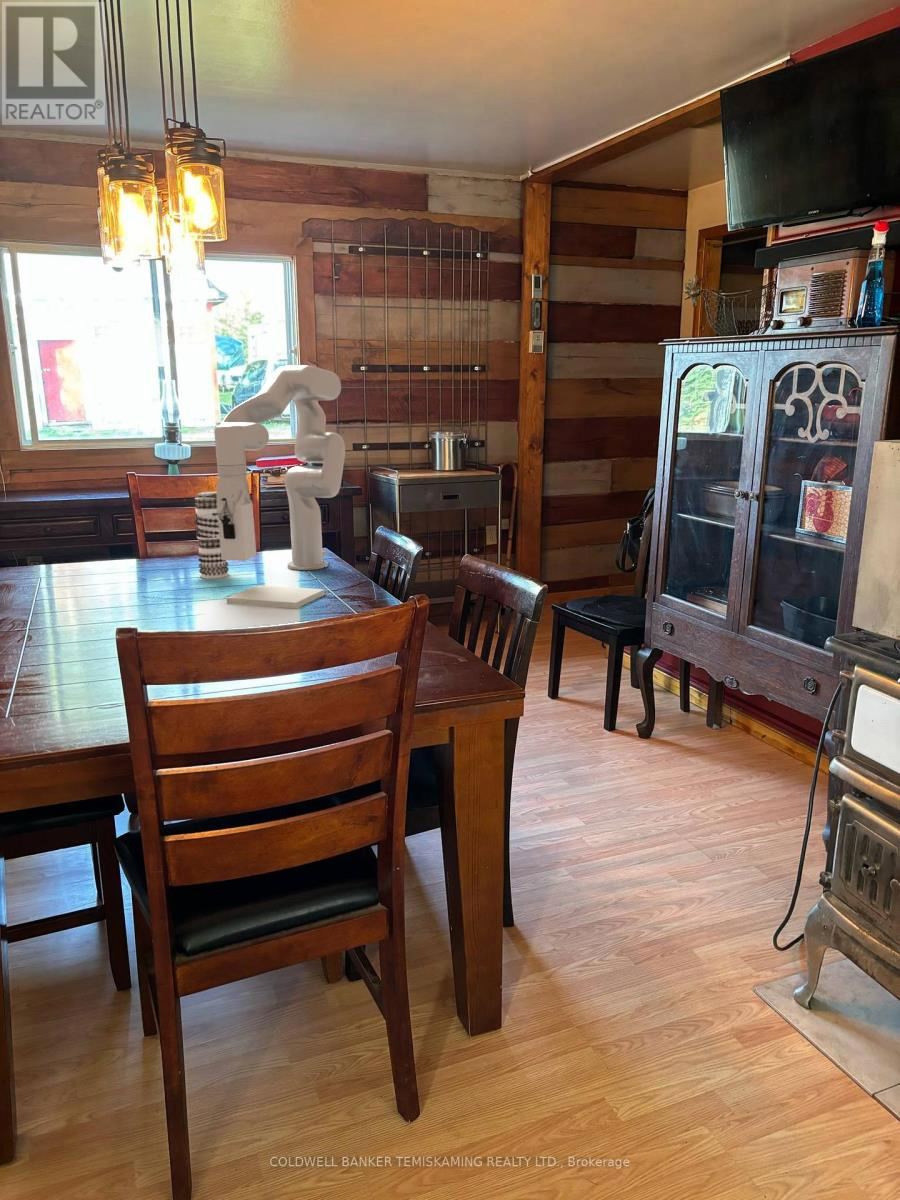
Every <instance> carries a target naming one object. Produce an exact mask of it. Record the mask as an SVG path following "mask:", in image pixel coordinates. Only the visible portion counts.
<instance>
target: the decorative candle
mask: <svg viewBox="0 0 900 1200" xmlns="http://www.w3.org/2000/svg"><path fill="white" fill-rule="evenodd" d="M193 499H195V500H194V501H195V514H194V515H193V518H194V519H195V520H194V524H195V525H196V526H195V531H196V533H195V535H196V538H197V540H198V553H197V556H198V557H199V558H198V562H199V564H198V568H199V570H198V571H199V573H200V574H199V577H200V578H201V577H202V578H203V579H221V578H225V577H228V576H229V575H230V573H229V567H228V566H229V562H227V560H222V559H221V548H220V536H219V525H218V514H217V491H203V492H202V491H201V492H198V494H197V495H196V497H194V498H193Z"/></svg>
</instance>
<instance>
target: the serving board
mask: <svg viewBox="0 0 900 1200" xmlns="http://www.w3.org/2000/svg"><path fill="white" fill-rule="evenodd" d="M323 596H325V589H323V588H322V589H321V588H310V587H309V588H308V587H293V586H278V585H275V586H274V585H263V584H262V585H261V584H260V585H259V584H258V585H255V586H253V587H251V588H248V589H245V590H242V591H240V592H238V593H235V594H232V595H229V596H228V597H226V604H228V603H229V604H228V605H244V606H259V607H272V608H283V609H284V608H286V609H298V608H300V607H303V606H304V605H306V604H308V603H310V602H312V601H315V600H316V599H317V600H318V599H319V598H321V597H323Z"/></svg>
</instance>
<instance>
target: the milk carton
mask: <svg viewBox="0 0 900 1200" xmlns="http://www.w3.org/2000/svg"><path fill="white" fill-rule="evenodd" d="M244 498H246V500H247V501H248V502H247V503H243V501H244ZM252 503H253V501H252V500H251V498H250V499H249V497H248V496H247V494H246V490H242V495H241V497H240V499H239V501H238V503H237V504H236V506H235V514H234V515H233V522H232V524H234V529H235V539H225V538H224V534H223V524H221V520H220V519H219V516H218V525H219V536H220V548H221V559H222V560H226V561H241V562H242V561H248V560H250V559H252V558H254V557H256V556H257V545H256V532H255V520H254V503H253V504H252ZM224 511H225V512H228V513H230V509H228V506H227V507H226V509H225V510H224ZM226 516H227V517H228V518H229V516H230V515H226Z"/></svg>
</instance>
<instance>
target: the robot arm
mask: <svg viewBox="0 0 900 1200" xmlns="http://www.w3.org/2000/svg"><path fill="white" fill-rule="evenodd" d="M341 383H342V382H341V380H340V377H339V376H338V375H337V374H336V372H334V371H332V370H328V369H324V368H321V367H317V366H314V365H308V364H307V365H305V364H302V365H301V364H300V365H298V364H297V365H283V366H280V367H277V368H276V369H275V370H274V372H273V373H272V374H271V375H270V377H269V378H268V380H267V381H266V383H265V384H264V385H263V387H262V388H261V389H260V390H259V392H258V393H257V394H255V396H252V397H250V398H249V399H247V400H245V401H244V402H242V403H239V404H238V405H237V406H235V407H233V408H232V409H231V410H230V411H229V412H228V413H227V414H226V416H225V417H224V418H223V419H222V421H221V423H220V424H218V425H216V426H215V427H214V429H213V430H214V433H213V435H214V443H215V444H214V445H215V455H216V456H215V457H216V467H217V481H216V492H217V514H218V516H219V519H220V520H221V524H223V534H224V538H225V539H235V529H234V524H232V522H233V515H234V514H235V506H236V504H237V503H238V501H239V499H240V497H241V495H242V490H246V494H247V496H248V497H249V499H250V500H251V494H250V487H249V481H248V477H247V476H248V475H247V474H248V471H247V463H246V462H247V460H246V451H259V450H262V449H264V448H265V447H266V446H267V445H268V442H269V440H270V435H269V431H268V429H267V427H265V426H264V425H263V424H261V423H264V422H268V421H271V420H274V419H276V418H278V417H280V416H281V415H282V414H283V413H284V411H285V409H287V407H288V406H289V404H290V402H291V401H293V403H294V405H295V408H296V410H297V417H298V420H297V428H296V434H295V441H294V456H295V458H296V459H297V460H298V461H300V462H302V463H309V464H313V463H314V464H322V466H321V465H320V466H318V465H296V466H293V467H291V468H289V469H288V470H287V471H286V473H285V475H284V486H285V491H286V495H287V498H288V499H287V500H288V507H289V508H288V509H289V521H290V522H289V523H290V525H289V526H290V539H291V540H290V541H291V543H290V545H291V559H292V561H289V562H288V563H287V568H288V569H290V570H294V571H312V570H320V569H324V567H325V568H327V567H328V566H329V564H328V563H329V562H328V561H326V560H324V559H323V558H324V557H326V556H327V550H323V536H322V533H323V532H322V515H321V513H322V512H321V507H320V506H319V504H318V502H317V500H316V499H315V498H321V499H322V498H323V499H327V498H328V499H331V498H334V497H336V496H337V495H338V494H339V493H340V490H341V485H342V479H343V473H344V472H343V471H344V464H345V457H346V445H345V442H344V441H345V440H344V439H343V437H342V436H341V434H339V433H338V432H333V431H326V425H327V423H326V422H327V418H326V417H327V416H326V414H325V411H324V410H323V408H322V406H321V405H320V404H319V401H333V400H336V399H337V398H338V397H339V395H340V393H341V392H342V384H341ZM247 502H248V501H247V500H246V498H244V501H243V503H247ZM252 504H253V505H254V503H253V502H252ZM227 506H228V509H230V513H228V512H225V511H224V510H225V509H226V507H227ZM226 515H230V516H229V518H228V517H227V516H226Z"/></svg>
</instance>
